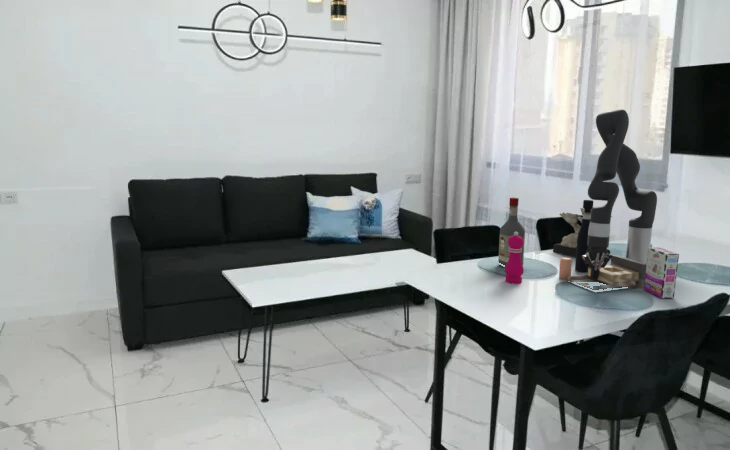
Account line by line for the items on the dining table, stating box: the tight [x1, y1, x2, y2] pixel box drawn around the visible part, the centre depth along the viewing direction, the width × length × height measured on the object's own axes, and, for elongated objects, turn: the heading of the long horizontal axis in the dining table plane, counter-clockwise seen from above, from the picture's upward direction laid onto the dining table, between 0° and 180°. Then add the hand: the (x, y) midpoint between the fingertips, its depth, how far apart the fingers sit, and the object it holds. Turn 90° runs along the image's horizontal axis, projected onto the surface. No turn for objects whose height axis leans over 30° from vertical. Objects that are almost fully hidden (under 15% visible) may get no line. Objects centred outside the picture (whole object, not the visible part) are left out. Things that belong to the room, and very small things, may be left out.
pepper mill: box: [504, 232, 525, 284], centre depth 211 cm, size 7×7×20 cm
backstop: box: [565, 254, 647, 290], centre depth 208 cm, size 24×16×9 cm
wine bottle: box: [574, 199, 594, 274], centre depth 225 cm, size 6×6×30 cm
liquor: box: [498, 197, 526, 266], centre depth 232 cm, size 9×9×30 cm
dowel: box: [558, 257, 573, 281], centre depth 216 cm, size 4×4×8 cm
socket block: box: [587, 264, 639, 285], centre depth 209 cm, size 13×13×4 cm
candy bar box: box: [643, 247, 680, 300], centre depth 195 cm, size 11×5×16 cm, turn 5°
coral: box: [552, 207, 613, 258], centre depth 257 cm, size 25×20×21 cm
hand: (594, 278), depth 206 cm, fingers closed
